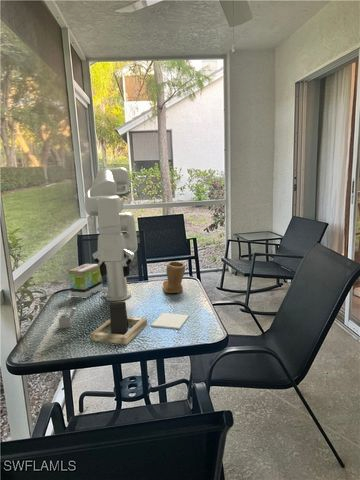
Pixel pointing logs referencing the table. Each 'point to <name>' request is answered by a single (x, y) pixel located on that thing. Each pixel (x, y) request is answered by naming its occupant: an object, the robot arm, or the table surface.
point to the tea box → (85, 280)
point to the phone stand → (118, 318)
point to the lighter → (66, 319)
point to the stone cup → (174, 277)
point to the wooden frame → (117, 338)
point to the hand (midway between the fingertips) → (115, 275)
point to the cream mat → (170, 321)
